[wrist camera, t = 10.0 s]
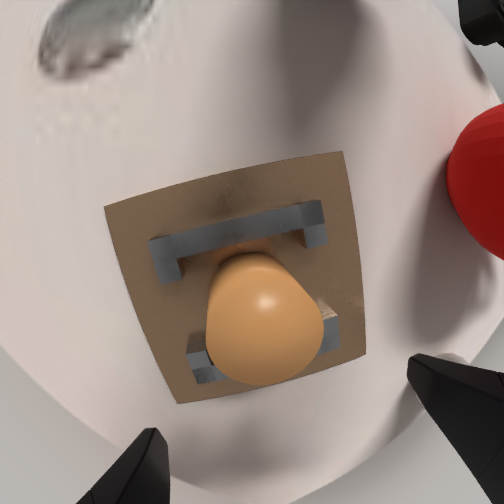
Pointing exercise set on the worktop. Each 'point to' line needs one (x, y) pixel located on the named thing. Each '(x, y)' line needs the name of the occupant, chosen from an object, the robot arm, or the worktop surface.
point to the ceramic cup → (480, 179)
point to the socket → (235, 243)
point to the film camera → (482, 21)
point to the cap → (260, 321)
